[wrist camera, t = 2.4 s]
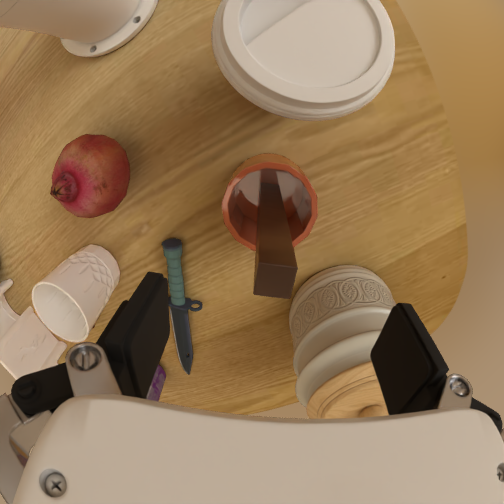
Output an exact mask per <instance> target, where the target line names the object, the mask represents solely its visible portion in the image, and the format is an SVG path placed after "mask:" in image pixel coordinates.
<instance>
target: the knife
mask: <svg viewBox="0 0 504 504" xmlns="http://www.w3.org/2000/svg"><path fill="white" fill-rule="evenodd" d="M162 245H163V251H164V256H165V257H166V258H167V265H168V266H167V269H168V283H169V288H170V294H171V297H168V305H169V306H170V308H171V310H170V314H171V320H172V326H173V331H174V337H175V342H176V348H177V353H178V357H179V360H180V363H181V365H182V367H183V369H184V371H185V372H186V373H187V374H188V375H189V374H190V370H191V365H192V359H193V351H192V344H191V336H190V328H189V319H188V309H190V310H191V311H199V310H201V309H202V303H201V302H200V301H196V300H195V301H192V300H191V299H190V298H185V296H184V282H183V275H182V268H181V259H180V257H181V255H182V242H181V240H179V239H176V238H171V239H167V240H165V241H163V242H162ZM192 304H199V305H200V306H199V307H198V308H192V307H191V305H192ZM187 353H189V356H188V355H187Z"/></svg>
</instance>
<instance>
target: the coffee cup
mask: <svg viewBox="0 0 504 504" xmlns="http://www.w3.org/2000/svg"><path fill="white" fill-rule="evenodd" d="M211 39H212V48H213V52H214V56H215V59H216V61H217V64H218V66H219V68H220V70H221V72H222V73H223V75H224V76H225V78H226V79H227V80H228V82H229V83H230V84H231V85H232V86H233V87H234V88H235V89H236V90H237V91H238V92H239V93H240V94H241V95H242V96H243V97H245V98H246V99H247V100H249V101H250V102H252V103H253V104H255V105H257V106H258V107H260V108H262V109H264V110H266V111H269V112H271V113H274V114H276V115H279V116H283V117H286V118H291V119H296V120H305V121H322V120H330V119H335V118H339V117H343V116H346V115H349V114H351V113H353V112H355V111H357V110H359V109H361V108H362V107H364V106H365V105H367V104H368V103H369V102H370V101H372V100H373V99H374V98H375V97H376V96H377V94H378V93H379V92H380V91H381V89H382V88H383V87H384V85H385V84H386V82H387V80H388V78H389V76H390V73H391V71H392V67H393V63H394V56H395V41H394V32H393V27H392V24H391V21H390V18H389V16H388V14H387V12H386V10H385V8H384V7H383V5H382V3H381V2H380V1H379V0H222V1H221V3H220V5H219V7H218V9H217V11H216V14H215V17H214V20H213V25H212V33H211Z"/></svg>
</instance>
